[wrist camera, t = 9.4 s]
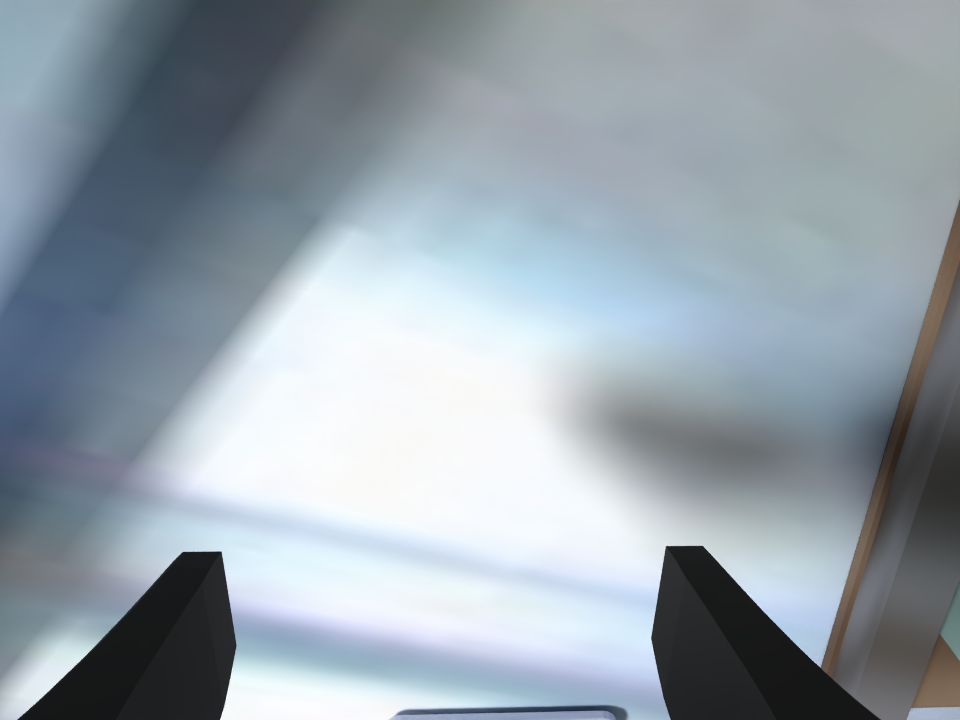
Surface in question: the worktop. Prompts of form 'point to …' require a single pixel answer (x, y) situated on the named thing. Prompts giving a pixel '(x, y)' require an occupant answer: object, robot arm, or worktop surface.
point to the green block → (953, 624)
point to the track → (910, 533)
